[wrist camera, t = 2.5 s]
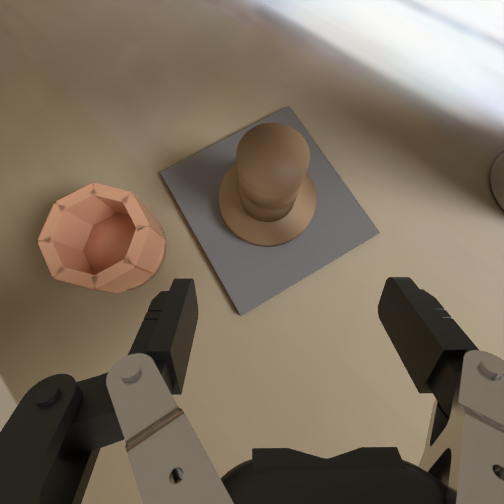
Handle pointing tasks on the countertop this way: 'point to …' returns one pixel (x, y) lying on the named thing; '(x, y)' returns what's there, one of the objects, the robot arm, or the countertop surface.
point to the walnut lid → (269, 187)
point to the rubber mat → (255, 257)
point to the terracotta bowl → (102, 239)
